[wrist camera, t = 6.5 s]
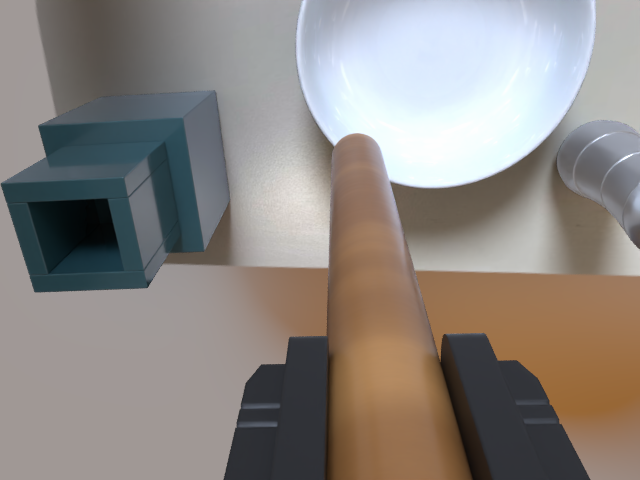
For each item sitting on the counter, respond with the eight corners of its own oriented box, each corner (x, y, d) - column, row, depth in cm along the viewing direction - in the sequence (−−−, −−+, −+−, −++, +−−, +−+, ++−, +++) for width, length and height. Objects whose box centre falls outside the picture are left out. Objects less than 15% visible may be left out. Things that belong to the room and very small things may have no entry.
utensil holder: (100, 96, 47) (-36, 158, 30) (215, 90, 47) (145, 149, 29) (124, 205, 51) (17, 314, 34) (230, 200, 51) (176, 309, 34)
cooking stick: (330, 133, 24) (311, 608, 5) (382, 132, 24) (536, 609, 5) (332, 182, 25) (320, 727, 6) (381, 180, 24) (513, 731, 6)
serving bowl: (524, 175, 49) (552, 202, 43) (291, 151, 49) (285, 175, 43) (595, -94, 40) (643, -110, 34) (313, -126, 40) (308, -147, 34)
